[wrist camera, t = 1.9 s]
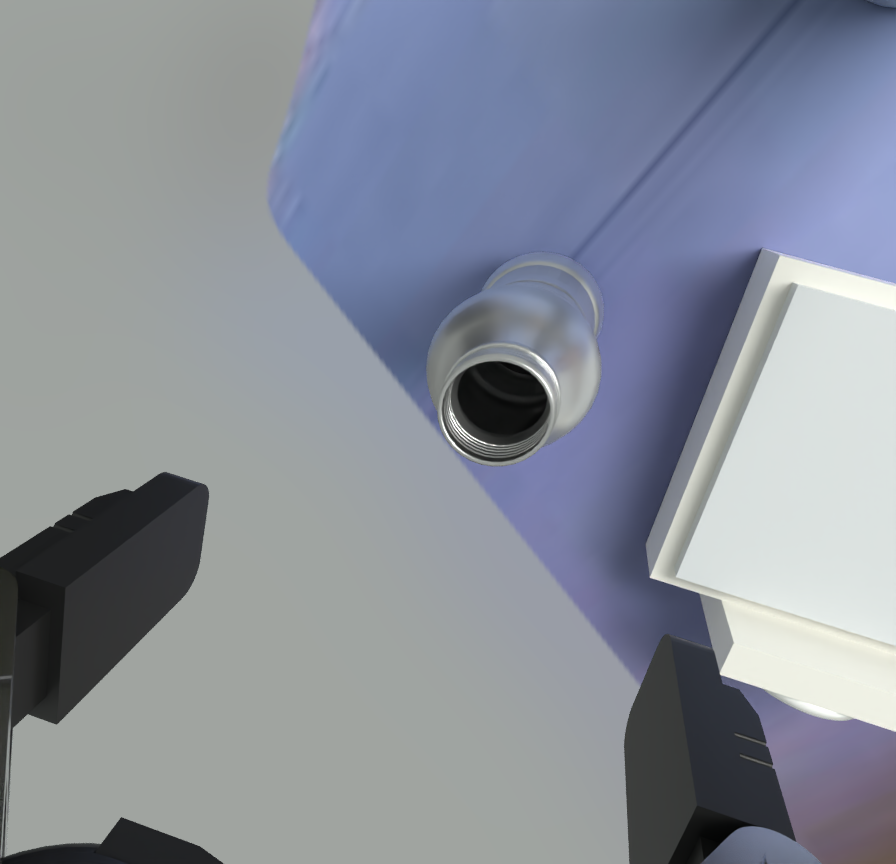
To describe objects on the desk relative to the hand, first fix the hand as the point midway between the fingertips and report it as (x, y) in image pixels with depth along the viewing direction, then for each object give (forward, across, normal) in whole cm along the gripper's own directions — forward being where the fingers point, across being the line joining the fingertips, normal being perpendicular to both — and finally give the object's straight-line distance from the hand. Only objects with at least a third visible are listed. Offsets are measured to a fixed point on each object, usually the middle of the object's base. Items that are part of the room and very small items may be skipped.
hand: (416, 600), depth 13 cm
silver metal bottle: (+31, 0, 0) cm, 31 cm away
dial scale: (+31, -19, +5) cm, 37 cm away
